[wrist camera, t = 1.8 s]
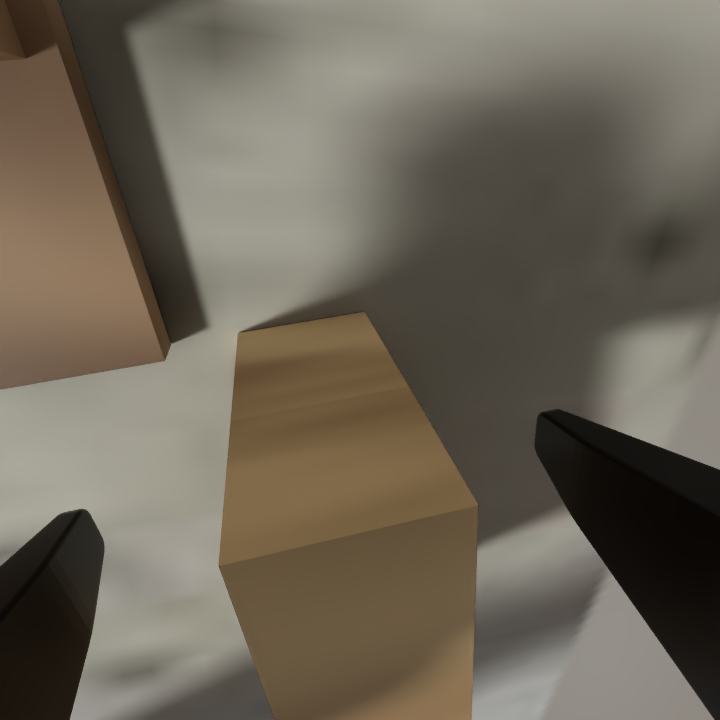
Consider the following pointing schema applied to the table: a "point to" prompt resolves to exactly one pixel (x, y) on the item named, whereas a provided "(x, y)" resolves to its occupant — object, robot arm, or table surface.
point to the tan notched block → (346, 531)
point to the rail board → (62, 218)
